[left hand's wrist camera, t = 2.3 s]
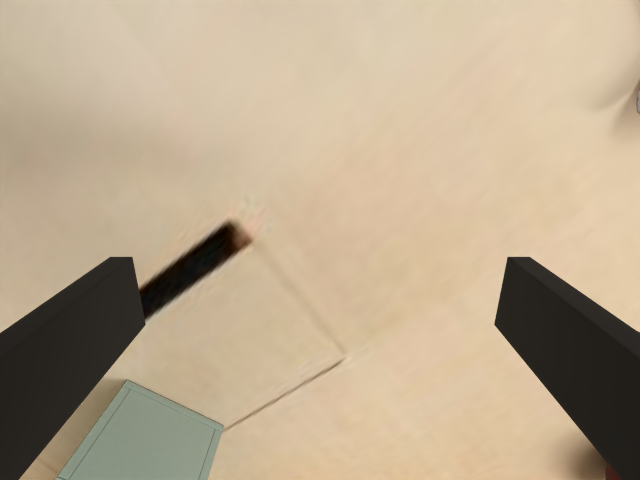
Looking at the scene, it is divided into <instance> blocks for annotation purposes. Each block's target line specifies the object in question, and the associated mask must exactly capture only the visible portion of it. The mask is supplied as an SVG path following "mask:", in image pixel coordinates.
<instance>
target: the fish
mask: <svg viewBox="0 0 640 480" xmlns="http://www.w3.org/2000/svg"><path fill="white" fill-rule="evenodd" d="M636 106H637V112H638V113H639V114H640V90H639V92H638V97H637V103H636Z"/></svg>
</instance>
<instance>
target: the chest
mask: <svg viewBox="0 0 640 480" xmlns="http://www.w3.org/2000/svg"><path fill="white" fill-rule="evenodd" d="M223 427H224V426H223V425H221V424H219V423H217V422H215V421H213V420H211V419H208V418H206V417H204V416H202V415H200V414H198V413H196V412H194V411H192V410H190V409H187V408H185V407H183V406H181V405H179V404H177V403H175V402H173V401H171V400H169V399H166V398H164V397H162V396H160V395H158V394H156V393H154V392H152V391H150V390H148V389H145V388H143V387H141V386H139V385H137V384H135V383H133V382H131V381H129V380H127V381H126V382H125V384H124V385H123V386H122V388H121V389H120V390H119V392H118V393H117V395H116V396H115V397H114V399H113V400H112V401H111V403H110V404H109V406H108V407H107V408H106V410H105V411H104V412H103V414H102V415H101V417H100V418H99V419H98V421H97V422H96V424H95V425H94V426H93V428H92V429H91V430H90V432H89V433H88V435H87V436H86V437H85V439H84V440H83V441H82V443H81V444H80V446H79V447H78V448H77V450H76V451H75V452H74V454H73V455H72V457H71V458H70V459H69V461H68V462H67V464H66V465H65V466H64V468H63V469H62V470H61V472H60V473H59V475H58V476H57V477H58V478H61V479H63V480H207V479H208V476H209V472H210V469H211V466H212V463H213V459H214V456H215V453H216V450H217V446H218V443H219V440H220V437H221V433H222V430H223Z"/></svg>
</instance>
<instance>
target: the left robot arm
mask: <svg viewBox="0 0 640 480" xmlns="http://www.w3.org/2000/svg"><path fill="white" fill-rule="evenodd" d="M145 325H146V324H145V319H144V314H143V309H142V304H141V299H140V294H139V289H138V284H137V279H136V273H135V268H134V263H133V258H132V257H110V258H108V259H107V260H105V261H104V262H102V263H101V264H99V265H98V266H97V267H95V268H94V269H92V270H91V271H89V272H88V273H86V274H85V275H84V276H82V277H81V278H79V279H78V280H76V281H75V282H74V283H72V284H71V285H69V286H68V287H66V288H65V289H63V290H62V291H61V292H59V293H58V294H56V295H55V296H53V297H52V298H50V299H49V300H48V301H46V302H45V303H43V304H42V305H40V306H39V307H37V308H36V309H35V310H33V311H32V312H30V313H29V314H27V315H26V316H24V317H23V318H22V319H20V320H19V321H17V322H16V323H14V324H13V325H11V326H10V327H9V328H7V329H6V330H4V331H3V332H1V333H0V480H19V479H20V477H21V476H22V475H23V474H24V472H25V471H26V470H27V469H28V468H29V466H30V465H31V464H32V463H33V461H34V460H35V459H36V458H37V457H38V455H39V454H40V453H41V452H42V450H43V449H44V448H45V447H46V446H47V444H48V443H49V442H50V441H51V440H52V438H53V437H54V436H55V435H56V433H57V432H58V431H59V430H60V429H61V427H62V426H63V425H64V424H65V422H66V421H67V420H68V419H69V418H70V416H71V415H72V414H73V413H74V411H75V410H76V409H77V408H78V407H79V405H80V404H81V403H82V402H83V400H84V399H85V398H86V397H87V396H88V394H89V393H90V392H91V391H92V389H93V388H94V387H95V386H96V385H97V383H98V382H99V381H100V380H101V378H102V377H103V376H104V375H105V374H106V372H107V371H108V370H109V369H110V367H111V366H112V365H113V364H114V363H115V361H116V360H117V359H118V358H119V357H120V355H121V354H122V353H123V352H124V350H125V349H126V348H127V347H128V346H129V344H130V343H131V342H132V341H133V339H134V338H135V337H136V336H137V335H138V333H139V332H140V331H141V330H142V328H143V327H144V326H145ZM494 325H495V326H496V327H497V328H498V330H499V331H500V332H501V333H502V335H503V336H504V337H505V338H506V339H507V341H508V342H509V343H510V344H511V346H512V347H513V348H514V349H515V350H516V352H517V353H518V354H519V355H520V357H521V358H522V359H523V360H524V361H525V363H526V364H527V365H528V366H529V367H530V369H531V370H532V371H533V372H534V374H535V375H536V376H537V377H538V378H539V380H540V381H541V382H542V383H543V385H544V386H545V387H546V388H547V389H548V391H549V392H550V393H551V394H552V396H553V397H554V398H555V399H556V400H557V402H558V403H559V404H560V405H561V407H562V408H563V409H564V410H565V411H566V413H567V414H568V415H569V416H570V418H571V419H572V420H573V421H574V422H575V424H576V425H577V426H578V427H579V429H580V430H581V431H582V432H583V433H584V435H585V436H586V437H587V438H588V440H589V441H590V442H591V443H592V444H593V446H594V447H595V448H596V449H597V450H598V452H599V453H600V454H601V455H602V457H603V458H604V459H605V460H606V461H607V463H608V464H609V465H610V466H611V468H612V469H613V470H614V471H615V472H616V474H617V475H618V476H619V477H620V479H621V480H640V332H638V331H636V330H634V329H633V328H631V327H630V326H629V325H627V324H626V323H624V322H623V321H621V320H620V319H618V318H617V317H616V316H614V315H613V314H611V313H610V312H608V311H607V310H605V309H604V308H603V307H601V306H600V305H598V304H597V303H595V302H594V301H592V300H591V299H590V298H588V297H587V296H585V295H584V294H582V293H581V292H579V291H578V290H577V289H575V288H574V287H572V286H571V285H569V284H568V283H566V282H565V281H564V280H562V279H561V278H559V277H558V276H556V275H555V274H553V273H552V272H551V271H549V270H548V269H546V268H545V267H543V266H542V265H541V264H539V263H538V262H536V261H535V260H533V259H532V258H530V257H508V258H507V263H506V268H505V273H504V278H503V284H502V289H501V294H500V299H499V304H498V309H497V314H496V319H495V324H494Z"/></svg>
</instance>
